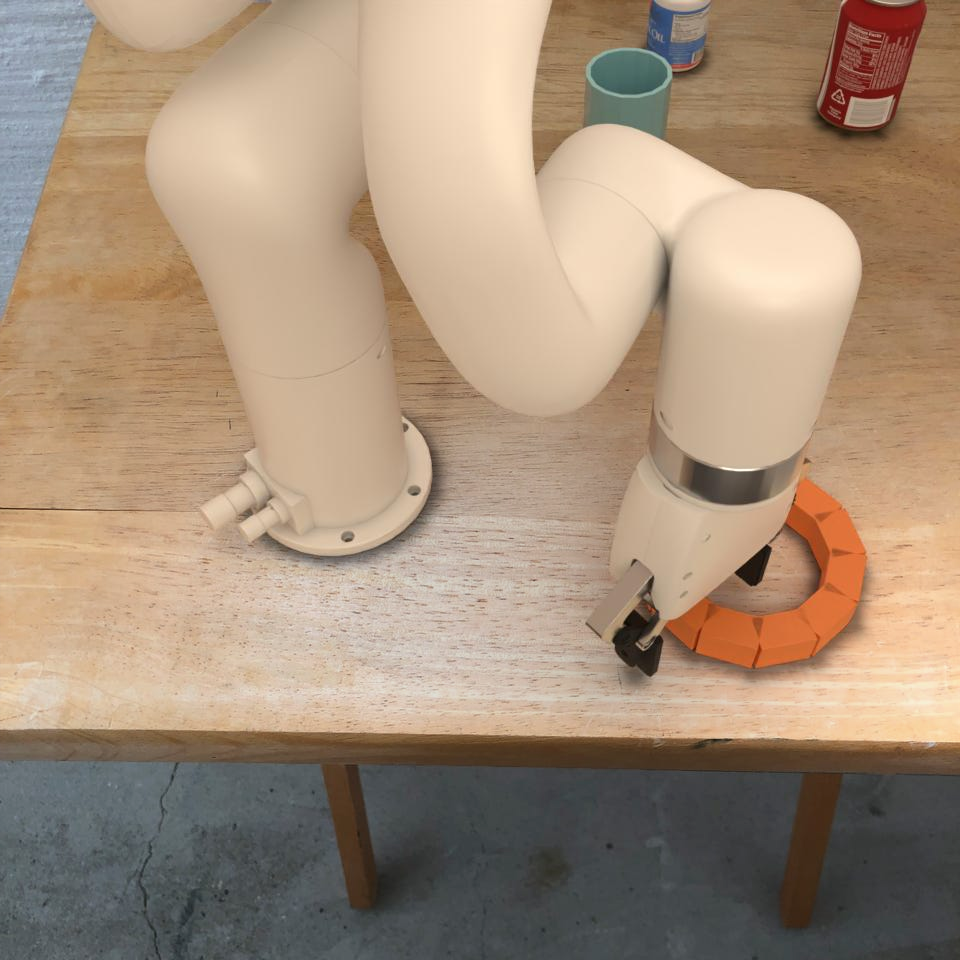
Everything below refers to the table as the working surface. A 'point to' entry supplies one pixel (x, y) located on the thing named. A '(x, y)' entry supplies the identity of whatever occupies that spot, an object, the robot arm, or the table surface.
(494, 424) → the table surface
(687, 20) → the pill bottle
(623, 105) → the cup
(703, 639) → the ring
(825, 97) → the soda can
